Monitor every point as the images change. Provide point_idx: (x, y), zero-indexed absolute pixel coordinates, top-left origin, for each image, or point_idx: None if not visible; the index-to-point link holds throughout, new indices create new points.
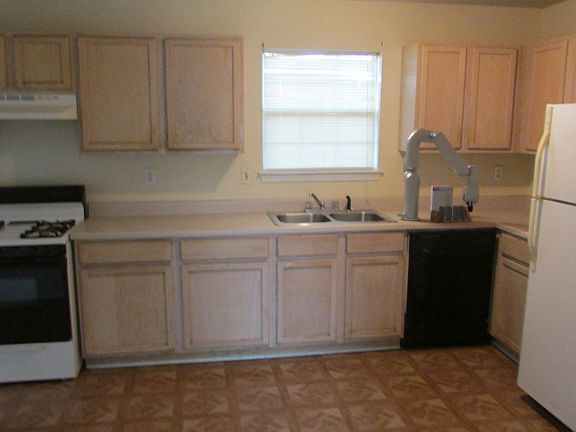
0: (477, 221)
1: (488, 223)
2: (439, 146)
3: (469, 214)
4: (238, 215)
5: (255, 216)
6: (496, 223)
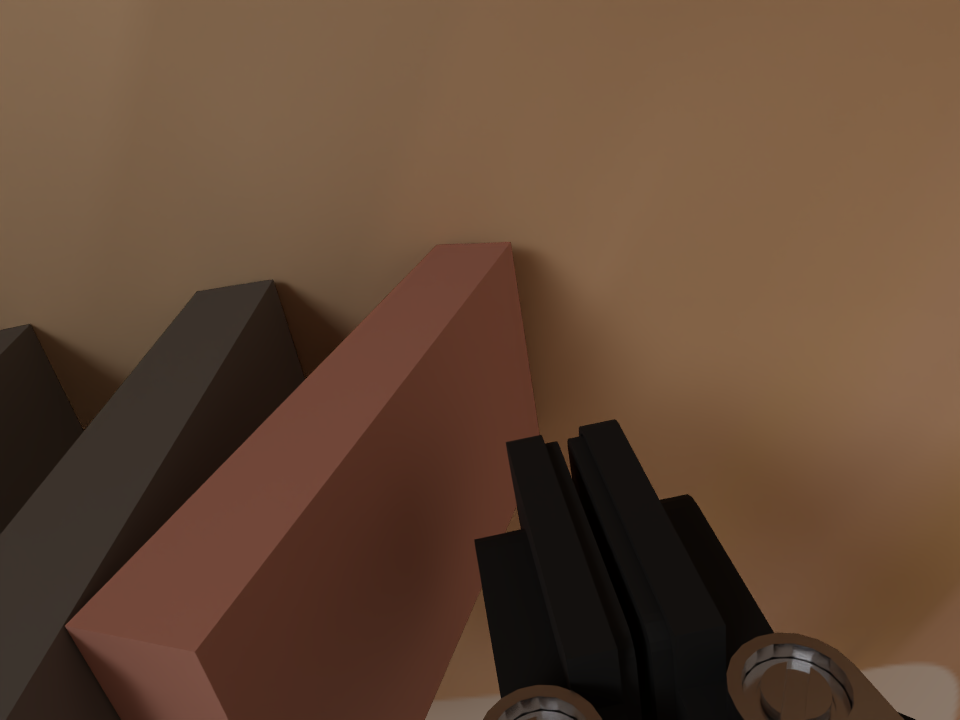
0: (678, 438)
1: (781, 632)
2: None
3: (468, 592)
4: None
5: None
6: (945, 619)
